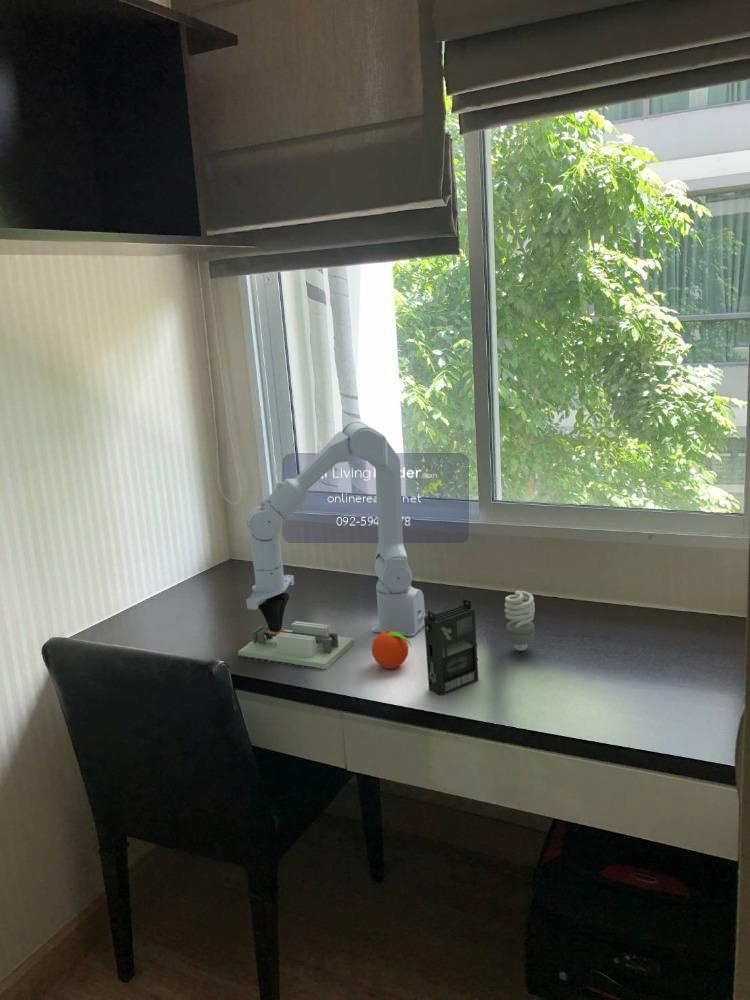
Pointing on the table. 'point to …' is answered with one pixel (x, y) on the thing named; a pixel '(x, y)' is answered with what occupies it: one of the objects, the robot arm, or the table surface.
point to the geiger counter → (451, 648)
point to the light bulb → (520, 619)
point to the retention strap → (317, 637)
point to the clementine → (390, 649)
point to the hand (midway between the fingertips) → (275, 629)
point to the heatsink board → (298, 645)
